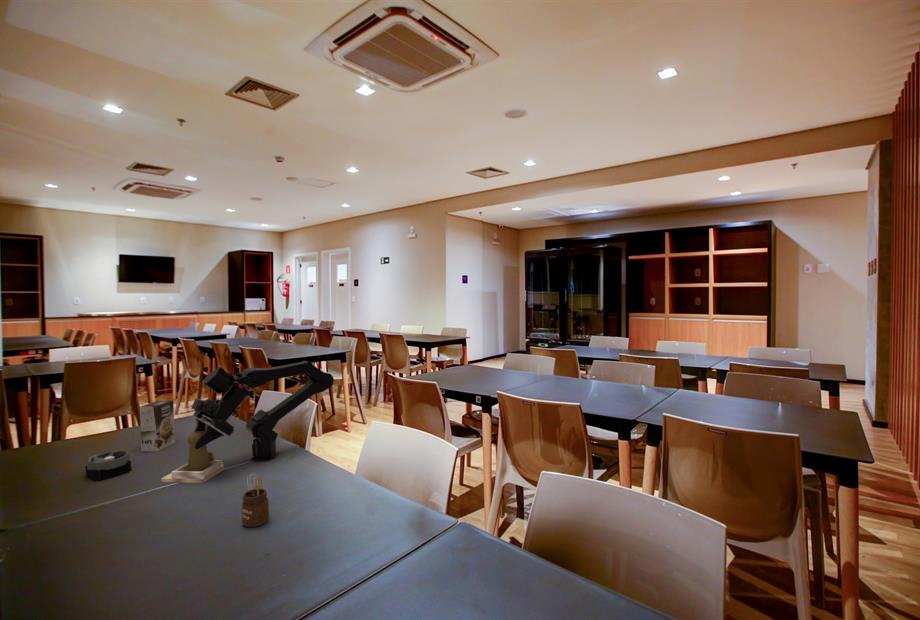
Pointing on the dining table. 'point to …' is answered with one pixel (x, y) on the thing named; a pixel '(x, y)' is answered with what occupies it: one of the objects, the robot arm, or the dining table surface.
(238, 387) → the robot arm
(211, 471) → the wooden box
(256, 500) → the utensil holder
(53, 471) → the dining table surface
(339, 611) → the dining table surface
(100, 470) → the cpu cooler
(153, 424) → the coffee box
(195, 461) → the cork
